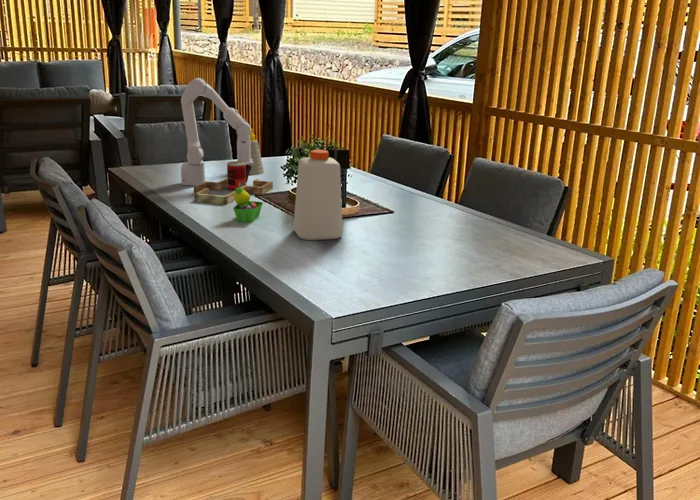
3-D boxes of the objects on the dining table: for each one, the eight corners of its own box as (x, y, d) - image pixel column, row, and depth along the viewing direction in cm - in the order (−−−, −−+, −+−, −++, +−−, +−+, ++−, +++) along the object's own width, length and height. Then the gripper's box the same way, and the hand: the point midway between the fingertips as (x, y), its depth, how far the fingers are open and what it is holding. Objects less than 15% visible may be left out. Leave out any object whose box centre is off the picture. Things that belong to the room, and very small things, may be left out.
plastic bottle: (299, 241, 214) (301, 155, 205) (291, 228, 227) (292, 147, 218) (345, 239, 218) (348, 155, 209) (333, 226, 231) (336, 146, 222)
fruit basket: (253, 224, 231) (252, 192, 227) (229, 221, 232) (228, 190, 229) (263, 215, 241) (263, 185, 238) (240, 213, 243) (240, 183, 239)
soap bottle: (234, 170, 314) (233, 127, 308) (259, 169, 319) (259, 126, 313) (241, 175, 303) (240, 131, 297) (267, 174, 308) (267, 130, 302)
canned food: (248, 187, 283) (247, 161, 279) (243, 191, 275) (243, 165, 272) (230, 186, 283) (230, 160, 280) (225, 190, 276) (224, 164, 272)
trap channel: (182, 200, 258) (182, 192, 257) (218, 182, 289) (218, 175, 288) (244, 206, 252) (244, 198, 251) (274, 187, 284) (274, 180, 283)
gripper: (246, 154, 275) (246, 186, 279) (258, 149, 288) (259, 179, 292) (230, 153, 276) (231, 185, 280) (243, 147, 290) (244, 178, 294)
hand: (244, 182), depth 287 cm, fingers closed
